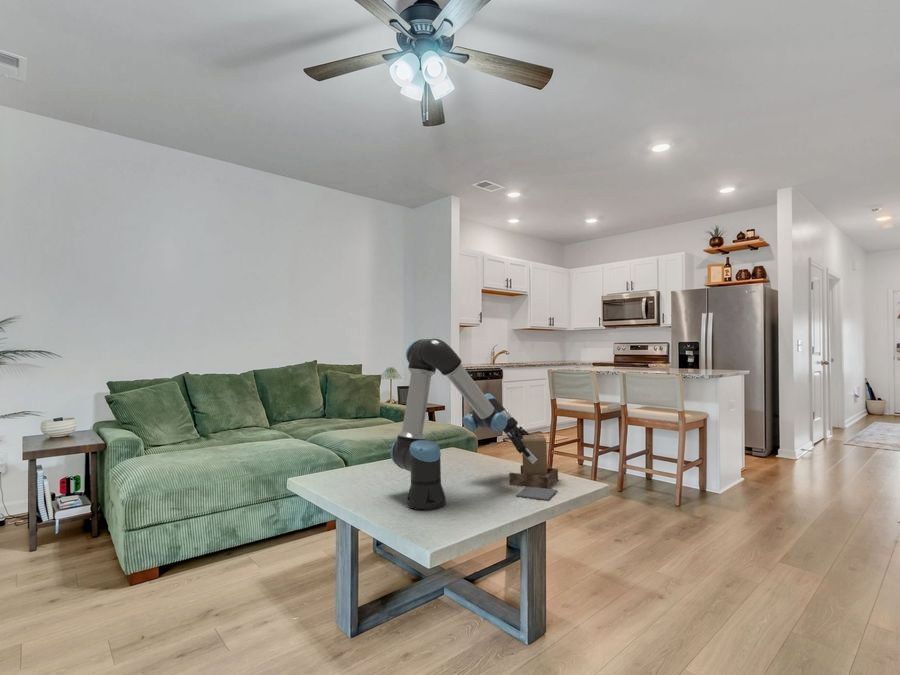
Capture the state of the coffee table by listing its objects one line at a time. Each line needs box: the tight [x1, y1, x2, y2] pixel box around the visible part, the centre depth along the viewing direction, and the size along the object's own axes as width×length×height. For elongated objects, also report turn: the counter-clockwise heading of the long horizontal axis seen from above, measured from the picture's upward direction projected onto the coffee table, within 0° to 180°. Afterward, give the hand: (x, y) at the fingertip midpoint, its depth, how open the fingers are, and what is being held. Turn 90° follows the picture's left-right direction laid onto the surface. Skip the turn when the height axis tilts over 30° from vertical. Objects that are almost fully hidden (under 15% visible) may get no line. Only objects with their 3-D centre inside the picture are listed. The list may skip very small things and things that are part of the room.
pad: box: [515, 486, 558, 502], centre depth 191 cm, size 13×13×1 cm
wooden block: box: [521, 434, 548, 476], centre depth 208 cm, size 10×10×20 cm
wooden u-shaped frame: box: [508, 464, 559, 489], centre depth 208 cm, size 17×15×5 cm
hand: (540, 458), depth 207 cm, fingers closed on wooden block, 12 cm apart
